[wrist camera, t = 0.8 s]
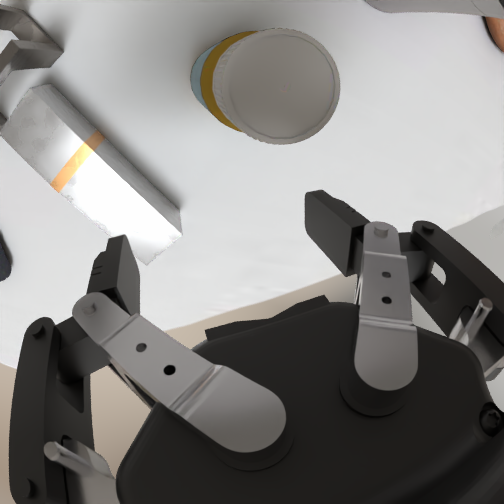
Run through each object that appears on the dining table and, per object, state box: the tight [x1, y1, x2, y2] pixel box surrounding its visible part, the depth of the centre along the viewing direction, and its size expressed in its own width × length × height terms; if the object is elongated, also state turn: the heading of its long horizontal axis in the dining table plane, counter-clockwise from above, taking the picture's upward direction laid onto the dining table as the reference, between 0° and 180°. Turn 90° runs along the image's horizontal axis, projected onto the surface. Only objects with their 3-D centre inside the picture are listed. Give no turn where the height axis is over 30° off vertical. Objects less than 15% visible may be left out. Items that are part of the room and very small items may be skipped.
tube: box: [0, 84, 183, 265], centre depth 23 cm, size 20×5×5 cm, turn 35°
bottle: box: [191, 28, 340, 145], centre depth 18 cm, size 7×7×15 cm
